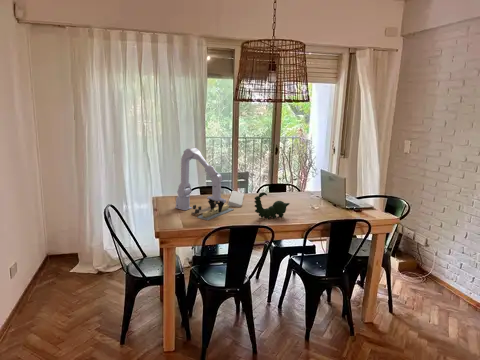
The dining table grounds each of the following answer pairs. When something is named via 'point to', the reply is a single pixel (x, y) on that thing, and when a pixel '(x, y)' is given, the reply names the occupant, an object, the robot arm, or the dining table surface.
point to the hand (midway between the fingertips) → (216, 211)
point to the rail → (214, 211)
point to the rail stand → (200, 211)
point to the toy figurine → (270, 208)
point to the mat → (215, 214)
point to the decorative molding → (236, 199)
